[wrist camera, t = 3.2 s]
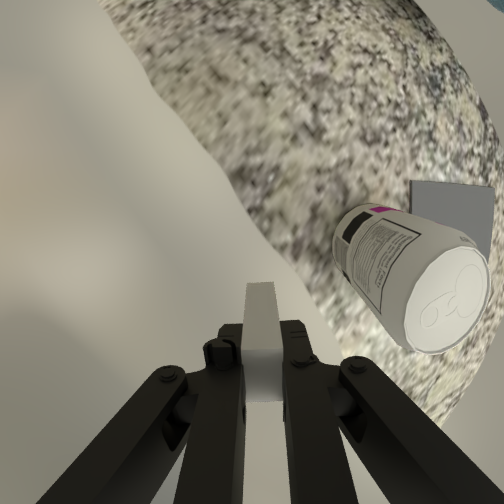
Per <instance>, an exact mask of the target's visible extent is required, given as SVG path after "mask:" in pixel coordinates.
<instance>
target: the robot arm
mask: <svg viewBox="0 0 504 504" xmlns="http://www.w3.org/2000/svg"><path fill="white" fill-rule="evenodd" d="M487 1H488V2H489V3H490V4H491V5H492V6H493V7H495V8H496V9H497V10H499V11H501V12H502V13H504V0H487ZM203 351H204V357H205V362H206V367H205V368H204V369H203V370H200V371H197V372H192V373H187V374H185V371H184V370H183V369H182V368H181V367H178V366H174V365H168V366H163V367H160V368H158V369H156V370H155V371H154V372H153V373H152V374H151V375H150V376H149V377H148V379H147V380H146V381H145V382H144V383H143V384H142V385H141V386H140V388H139V389H138V390H137V391H136V392H135V393H134V394H133V396H132V397H131V398H130V399H129V400H128V401H127V402H126V403H125V405H124V406H123V407H122V408H121V409H120V410H119V411H118V413H117V414H116V415H115V416H114V417H113V418H112V419H111V420H110V421H109V423H108V424H107V425H106V426H105V427H104V428H103V429H102V430H101V432H100V433H99V434H98V435H97V436H96V437H95V438H94V439H93V440H92V442H91V443H90V444H89V445H88V446H87V448H85V449H84V451H83V452H82V453H81V454H80V455H79V456H78V457H77V458H76V459H75V461H74V462H73V463H72V464H71V465H70V466H69V467H68V468H67V470H66V471H65V472H64V473H63V474H62V475H61V476H60V477H59V479H58V480H57V481H56V482H55V483H54V484H53V485H52V486H51V487H50V488H49V490H48V491H47V492H46V493H45V494H44V495H43V496H42V497H41V498H40V500H39V501H38V502H37V503H36V504H150V503H151V501H152V499H153V498H154V496H155V495H156V493H157V491H158V490H159V488H160V487H161V485H162V483H163V482H164V480H165V479H166V477H167V475H168V474H169V472H170V470H171V469H172V467H173V465H174V463H175V462H176V460H177V459H178V457H179V455H180V453H181V452H182V450H183V448H184V447H185V445H186V443H187V446H186V449H185V454H184V458H183V463H182V467H181V471H180V475H179V480H178V484H177V489H176V494H175V498H174V502H173V504H242V501H243V479H244V456H245V432H246V405H245V403H246V402H270V401H283V422H284V424H285V435H286V447H287V457H288V458H287V459H288V471H289V484H290V496H291V504H359V503H358V499H357V495H356V491H355V487H354V483H353V479H352V475H351V471H350V468H349V464H348V460H347V456H346V452H345V449H344V445H343V441H342V437H341V434H340V430H339V428H340V429H341V431H342V433H343V434H344V435H345V437H346V439H347V440H348V442H349V443H350V445H351V446H352V448H353V449H354V451H355V452H356V454H357V455H358V457H359V458H360V460H361V461H362V463H363V464H364V466H365V467H366V469H367V470H368V472H369V473H370V475H371V476H372V478H373V479H374V480H375V482H376V484H377V485H378V486H379V488H380V489H381V491H382V492H383V494H384V495H385V497H386V498H387V500H388V501H389V503H390V504H504V493H503V492H502V491H501V490H500V489H499V488H498V487H497V486H496V485H495V484H494V483H493V482H492V481H491V480H490V479H489V478H488V477H487V476H486V475H485V474H484V473H483V472H482V471H481V470H480V469H479V468H478V467H477V466H476V464H475V463H474V462H473V461H471V459H469V457H468V456H467V455H466V454H465V453H464V452H463V451H462V450H461V449H460V448H459V447H458V446H457V445H456V444H455V443H454V442H453V441H452V440H451V439H450V438H449V437H448V436H447V435H446V434H445V433H444V432H443V431H442V430H441V429H440V428H439V427H438V426H437V425H436V424H435V423H434V422H433V421H432V420H431V419H430V418H429V417H428V416H427V415H426V414H425V413H424V412H423V411H422V410H421V409H420V408H419V407H418V406H417V405H416V404H415V403H414V402H413V401H412V400H411V399H410V398H409V397H408V396H407V395H406V394H405V393H404V392H403V391H402V390H401V389H400V388H399V387H398V386H397V385H396V384H395V383H394V382H393V381H392V380H391V379H390V378H389V377H388V376H387V375H386V374H385V373H384V372H383V371H382V370H381V369H380V368H379V367H378V366H377V365H376V364H375V363H374V362H373V361H371V360H370V359H368V358H366V357H362V356H352V357H348V358H346V359H344V360H343V361H342V362H341V364H340V366H337V365H328V364H324V363H322V362H320V361H319V359H318V358H317V356H316V355H314V354H313V351H312V348H311V345H310V341H309V338H308V334H307V332H306V328H305V325H304V324H303V323H302V322H301V321H300V320H287V321H279V315H278V308H277V301H276V294H275V288H274V282H261V283H247V288H246V299H245V310H244V320H243V324H224V325H223V326H222V327H221V328H220V329H219V332H218V337H217V338H215V339H212V340H210V341H208V342H207V343H205V345H204V346H203ZM338 426H339V427H338Z"/></svg>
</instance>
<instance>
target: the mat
mask: <svg viewBox="0 0 504 504" xmlns="http://www.w3.org/2000/svg"><path fill="white" fill-rule="evenodd" d="M494 194H495V188H492V187H483V186H474V185H464V184H454V183H442V182H428V181H410V214H412V215H416V216H419V217H422V218H425V219H428V220H431V221H434V222H437V223H440V224H442V225H445V226H448V227H451V228H454V229H456V230H459V231H462V232H464V233H465V234H466V235H467V236H468V237H469V238H471V239H472V240H473V241H474V242H475V243H476V245H477V247H478V249H479V251H480V253H481V254H482V255H483V256H484V257H485V259H486V261H487V264H488V261H489V254H490V246H491V238H492V228H493V216H494Z"/></svg>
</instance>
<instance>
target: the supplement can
mask: <svg viewBox="0 0 504 504" xmlns="http://www.w3.org/2000/svg"><path fill="white" fill-rule="evenodd" d="M332 255H333V257H334V260H335V263H336V265H337V267H338V269H339V270H340V271H341V272H342V274H343V275H344V276H345V277H346V279H347V280H348V281H349V283H350V284H351V285H352V286H353V288H354V289H355V290H356V291H357V293H358V294H359V295H360V297H361V298H362V299H363V300H364V302H365V303H366V304H367V306H368V307H369V308H370V310H371V311H372V312H373V314H374V315H375V316H376V318H377V319H378V320H379V322H380V323H381V324H382V326H383V327H384V328H385V330H386V331H387V332H388V334H389V335H390V336H391V337H392V338H393V340H394V341H395V342H396V343H397V344H398V345H399V346H401V347H404V348H407V349H409V350H412V351H417V352H419V353H422V354H424V355H436V354H442V353H444V352H446V351H448V350H450V349H452V348H454V347H456V346H457V345H458V344H459V343H461V342H462V341H463V340H464V339H465V338H466V337H468V336H469V334H470V333H471V332H472V330H473V329H474V328H475V326H476V325H477V324H478V322H479V321H480V319H481V317H482V314H483V312H484V310H485V308H486V306H487V303H488V298H489V294H490V289H491V278H490V269H489V266H488V264H487V261H486V259H485V257H484V256H483V255H482V254H481V253H480V251H479V249H478V247H477V245H476V243H475V242H474V241H473V240H472V239H471V238H469V237H468V236H467V235H466V234H465V233H464V232H462V231H459V230H456V229H454V228H451V227H448V226H445V225H442V224H440V223H437V222H434V221H431V220H428V219H425V218H422V217H419V216H416V215H412V214H409V213H406V212H403V211H400V210H396V209H393V208H390V207H386V206H383V205H377V204H371V203H370V204H366V205H361V206H357V207H356V208H354V209H353V210H351V211H350V212H348V213H347V214H346V215H345V216H344V217H343V219H342V220H341V221H340V223H339V224H338V225H337V227H336V230H335V234H334V237H333V240H332Z"/></svg>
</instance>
